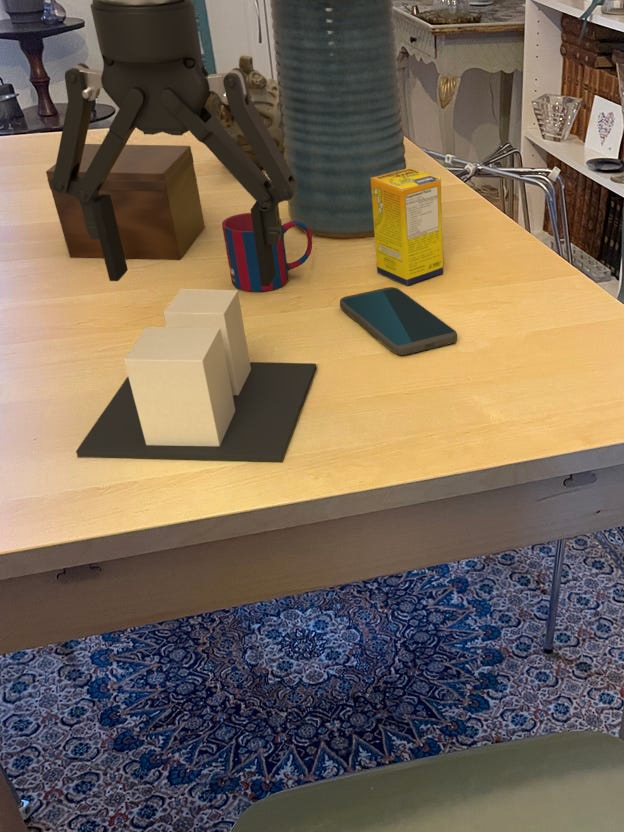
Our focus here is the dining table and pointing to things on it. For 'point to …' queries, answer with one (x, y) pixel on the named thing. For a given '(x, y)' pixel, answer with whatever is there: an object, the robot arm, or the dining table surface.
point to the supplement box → (407, 225)
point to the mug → (245, 254)
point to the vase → (337, 108)
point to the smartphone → (398, 320)
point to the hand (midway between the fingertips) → (193, 278)
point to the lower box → (215, 325)
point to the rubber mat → (247, 432)
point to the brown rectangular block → (139, 203)
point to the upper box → (181, 386)
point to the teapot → (265, 103)
